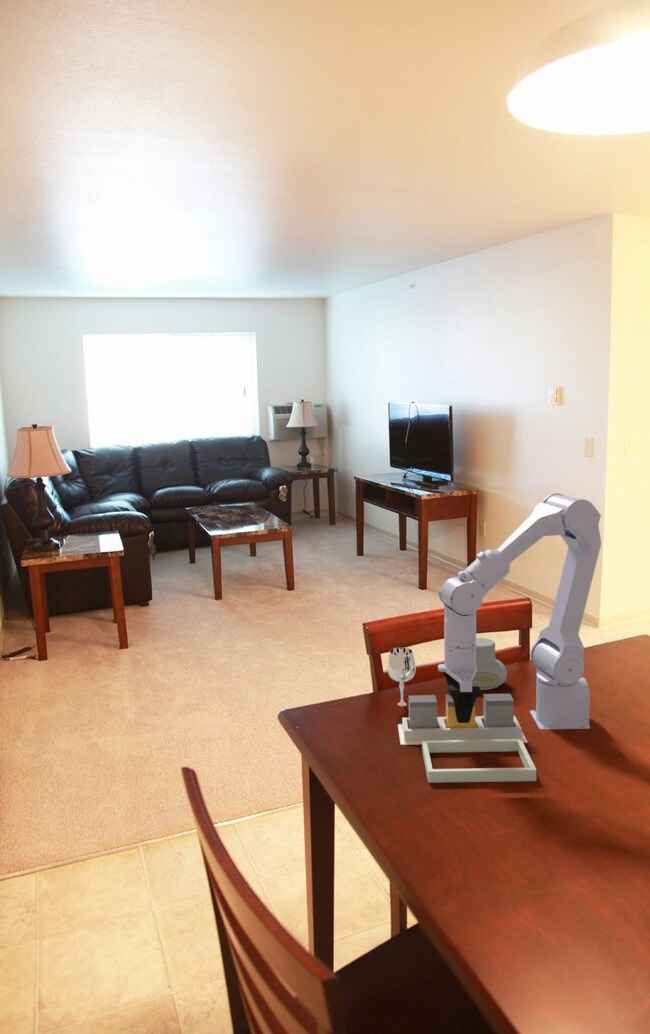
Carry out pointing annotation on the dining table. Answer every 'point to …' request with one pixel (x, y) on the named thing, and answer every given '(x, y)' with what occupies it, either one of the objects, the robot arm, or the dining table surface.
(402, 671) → the wineglass
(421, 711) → the block
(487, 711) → the block
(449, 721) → the block
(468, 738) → the fuse holder
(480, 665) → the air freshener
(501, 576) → the robot arm
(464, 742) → the tray
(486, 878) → the dining table surface
